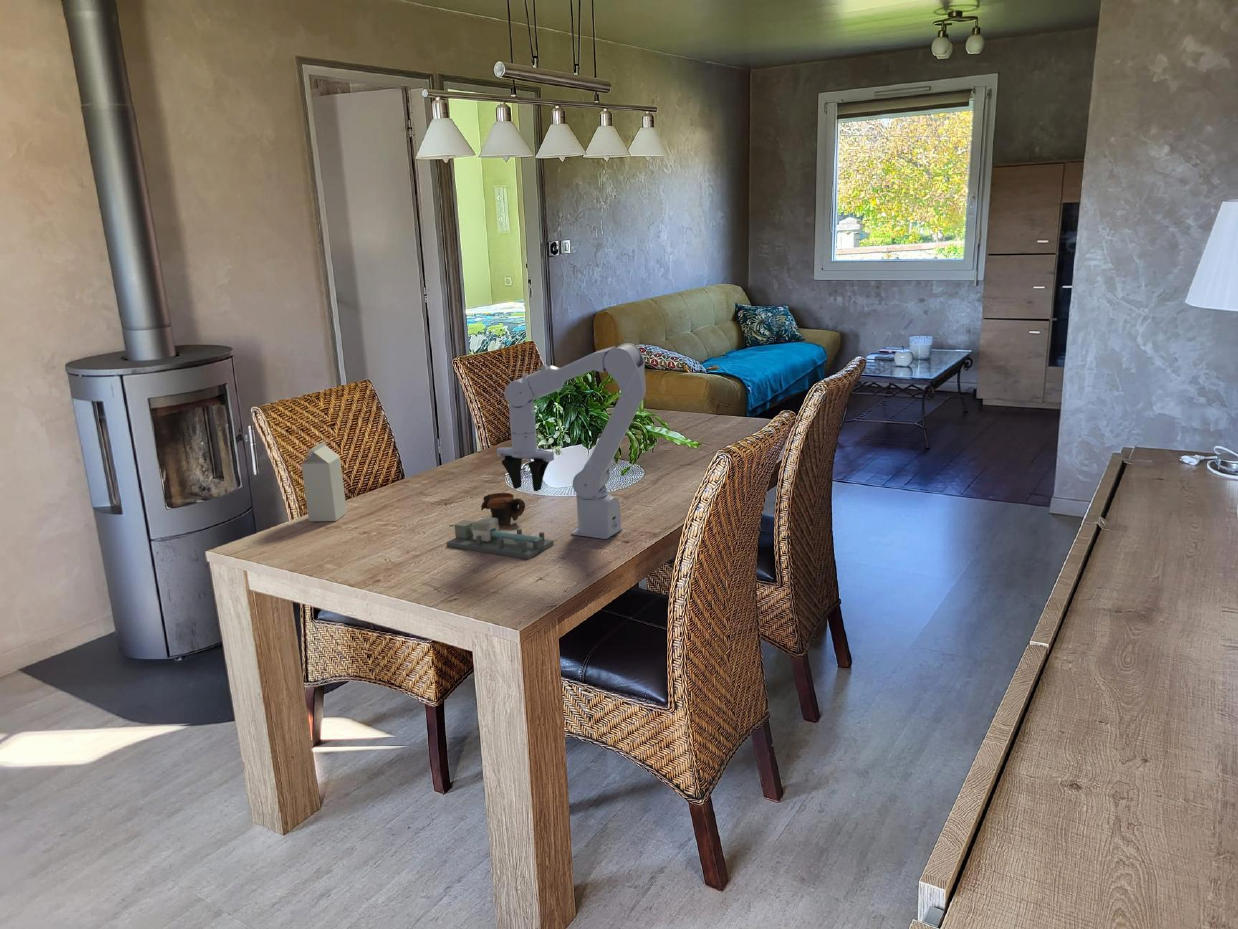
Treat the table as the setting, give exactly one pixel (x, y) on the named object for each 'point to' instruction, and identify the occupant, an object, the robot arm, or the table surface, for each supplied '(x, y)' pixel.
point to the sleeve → (484, 527)
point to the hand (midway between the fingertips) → (527, 488)
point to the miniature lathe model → (499, 542)
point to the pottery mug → (503, 507)
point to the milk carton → (323, 484)
